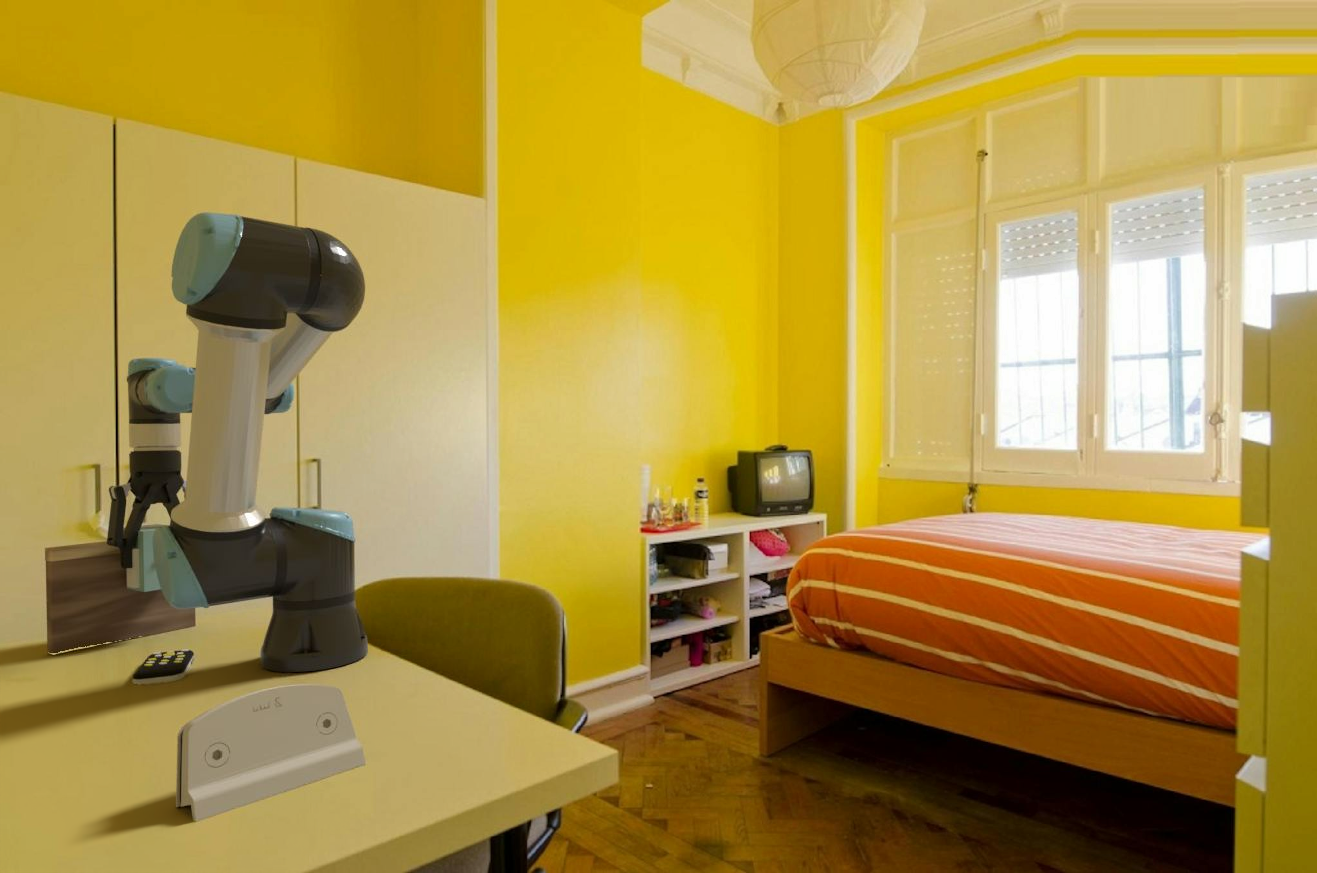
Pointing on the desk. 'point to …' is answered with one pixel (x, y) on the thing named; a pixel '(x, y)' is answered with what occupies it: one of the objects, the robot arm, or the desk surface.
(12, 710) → the desk surface
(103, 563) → the wall board
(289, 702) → the grey mounting bracket
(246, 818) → the desk surface
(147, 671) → the remote control
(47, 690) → the desk surface
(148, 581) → the cabinet
